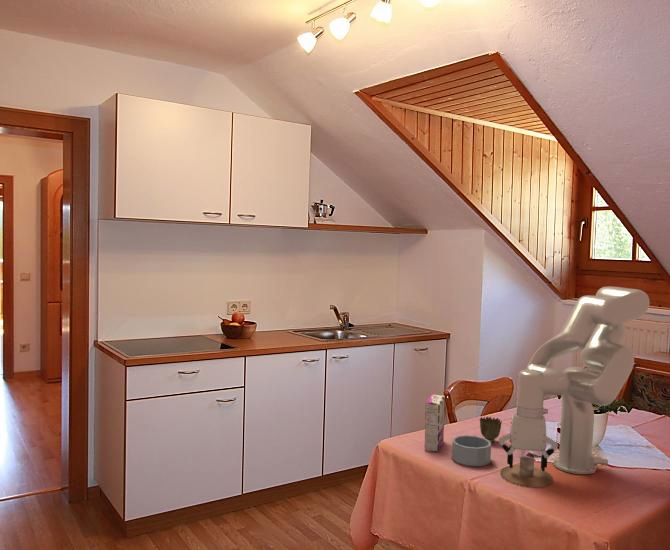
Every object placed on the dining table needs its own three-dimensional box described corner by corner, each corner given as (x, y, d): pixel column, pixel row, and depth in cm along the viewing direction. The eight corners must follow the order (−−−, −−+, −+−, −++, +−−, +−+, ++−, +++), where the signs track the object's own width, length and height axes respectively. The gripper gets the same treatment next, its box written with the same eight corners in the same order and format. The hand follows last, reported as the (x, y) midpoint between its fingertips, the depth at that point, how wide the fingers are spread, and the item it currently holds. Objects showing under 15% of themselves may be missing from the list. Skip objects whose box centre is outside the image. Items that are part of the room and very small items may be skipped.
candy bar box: (429, 439, 218) (431, 393, 217) (443, 441, 216) (445, 395, 215) (423, 450, 207) (425, 402, 206) (438, 452, 206) (440, 403, 205)
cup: (502, 446, 213) (504, 423, 213) (481, 445, 214) (482, 422, 213) (497, 438, 221) (498, 416, 220) (476, 438, 221) (477, 416, 220)
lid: (548, 471, 193) (549, 452, 193) (556, 491, 178) (557, 470, 178) (498, 466, 196) (499, 447, 196) (502, 485, 181) (503, 465, 181)
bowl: (488, 455, 205) (489, 437, 204) (491, 468, 193) (492, 449, 192) (451, 451, 207) (452, 434, 206) (451, 465, 195) (452, 446, 195)
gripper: (558, 410, 188) (554, 466, 189) (498, 405, 191) (496, 460, 192) (562, 417, 180) (559, 475, 182) (500, 412, 184) (497, 470, 185)
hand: (526, 467), depth 187 cm, fingers open, 8 cm apart
